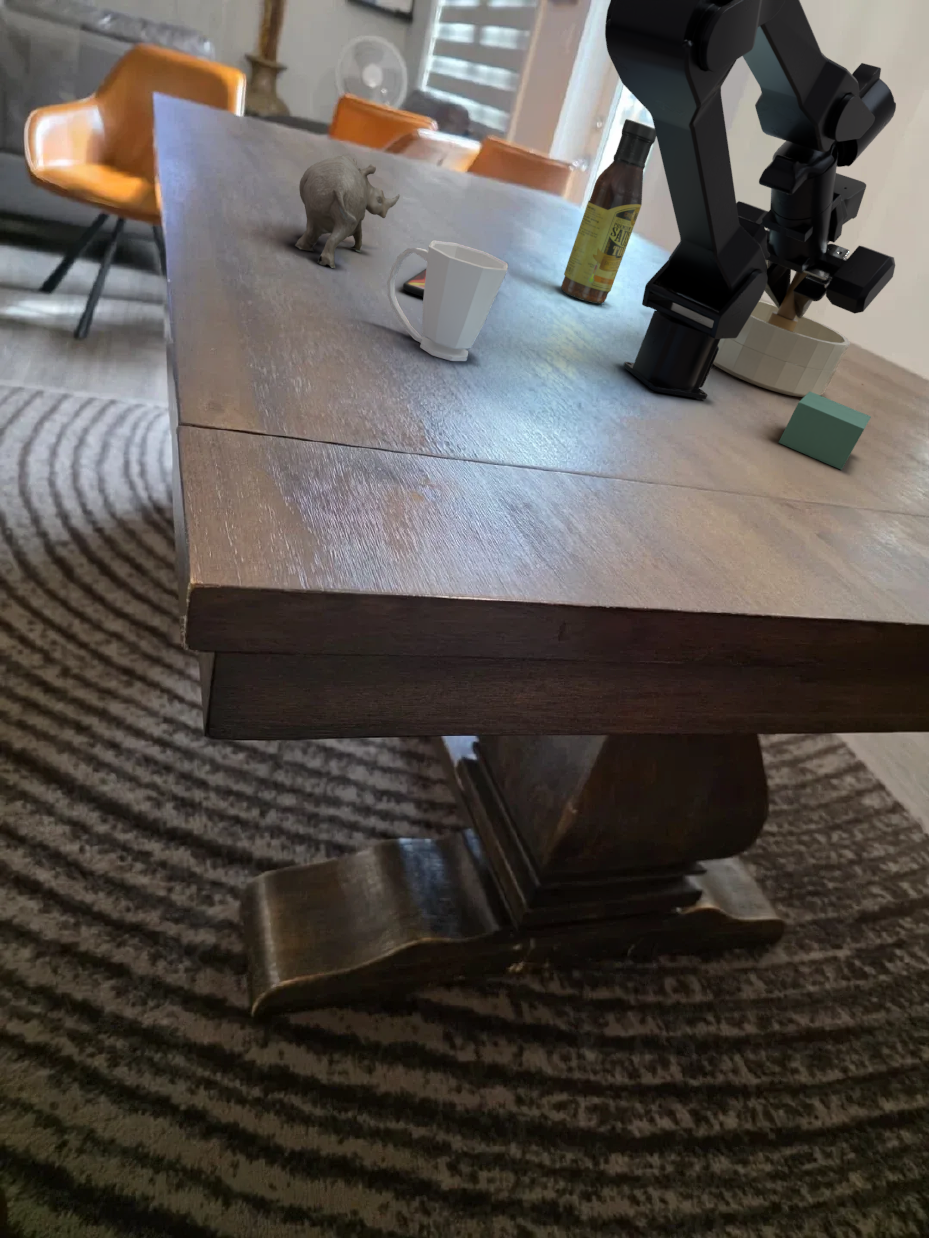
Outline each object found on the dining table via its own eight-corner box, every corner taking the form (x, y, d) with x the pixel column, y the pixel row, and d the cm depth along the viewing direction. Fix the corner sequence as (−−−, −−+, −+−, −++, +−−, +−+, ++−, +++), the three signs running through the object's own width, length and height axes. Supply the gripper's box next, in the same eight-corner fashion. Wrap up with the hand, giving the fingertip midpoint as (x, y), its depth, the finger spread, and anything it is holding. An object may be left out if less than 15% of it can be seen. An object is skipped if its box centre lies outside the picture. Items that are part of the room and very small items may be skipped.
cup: (461, 373, 70) (489, 272, 66) (359, 329, 72) (379, 228, 68) (496, 360, 76) (523, 267, 71) (400, 319, 78) (421, 226, 74)
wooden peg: (790, 349, 97) (829, 268, 93) (767, 343, 97) (805, 261, 92) (779, 341, 100) (816, 262, 95) (756, 335, 99) (793, 255, 94)
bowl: (745, 390, 92) (773, 331, 88) (672, 340, 103) (695, 285, 99) (847, 408, 98) (877, 353, 95) (768, 358, 109) (792, 307, 106)
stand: (778, 442, 78) (798, 401, 76) (789, 430, 83) (809, 391, 81) (841, 470, 77) (864, 429, 75) (849, 455, 82) (871, 416, 79)
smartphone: (401, 283, 86) (434, 261, 98) (399, 291, 86) (433, 268, 99) (472, 305, 85) (496, 280, 98) (470, 314, 86) (494, 288, 98)
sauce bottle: (594, 308, 105) (656, 128, 95) (550, 289, 107) (606, 112, 97) (613, 304, 111) (674, 134, 100) (572, 287, 113) (627, 118, 102)
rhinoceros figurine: (256, 221, 83) (322, 86, 84) (282, 284, 97) (339, 167, 98) (330, 254, 83) (395, 119, 84) (345, 313, 97) (401, 196, 98)
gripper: (941, 170, 80) (912, 291, 94) (769, 117, 89) (764, 235, 103) (871, 252, 79) (851, 363, 93) (702, 190, 88) (707, 300, 101)
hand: (792, 311), depth 97 cm, fingers closed on wooden peg, 2 cm apart
